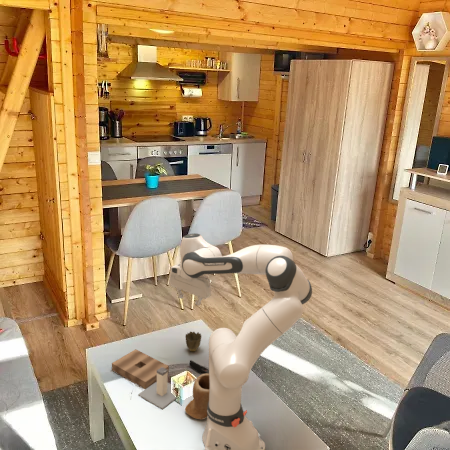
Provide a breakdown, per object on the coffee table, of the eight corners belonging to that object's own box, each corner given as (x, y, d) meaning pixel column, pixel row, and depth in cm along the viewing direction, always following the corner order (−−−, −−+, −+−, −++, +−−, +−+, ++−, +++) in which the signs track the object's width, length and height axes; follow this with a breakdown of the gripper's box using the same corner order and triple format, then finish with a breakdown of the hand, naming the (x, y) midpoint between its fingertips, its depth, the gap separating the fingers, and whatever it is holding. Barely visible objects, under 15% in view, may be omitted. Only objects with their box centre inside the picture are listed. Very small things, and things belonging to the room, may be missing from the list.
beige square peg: (167, 392, 184) (167, 369, 181) (162, 396, 182) (162, 373, 178) (161, 389, 186) (162, 366, 183) (156, 393, 183) (156, 370, 180)
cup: (182, 353, 212) (182, 337, 210) (188, 344, 219) (188, 330, 216) (197, 356, 210) (198, 341, 208) (203, 348, 217) (203, 333, 214)
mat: (184, 392, 185) (184, 391, 185) (162, 409, 175) (162, 408, 175) (160, 379, 192) (160, 378, 192) (138, 395, 182) (138, 394, 182)
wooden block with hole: (168, 373, 197) (168, 366, 196) (145, 389, 186) (145, 382, 185) (135, 355, 208) (135, 349, 207) (111, 370, 197) (111, 363, 196)
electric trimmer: (193, 364, 205) (193, 358, 204) (219, 379, 195) (219, 372, 194) (187, 367, 202) (187, 361, 201) (213, 383, 193) (213, 376, 192)
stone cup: (205, 427, 168) (207, 392, 163) (180, 413, 174) (181, 379, 169) (228, 405, 180) (231, 372, 175) (204, 393, 186) (206, 361, 181)
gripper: (215, 275, 187) (213, 306, 191) (177, 262, 198) (176, 291, 202) (205, 280, 182) (204, 311, 186) (167, 266, 193) (166, 296, 197)
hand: (189, 301), depth 194 cm, fingers open, 8 cm apart
